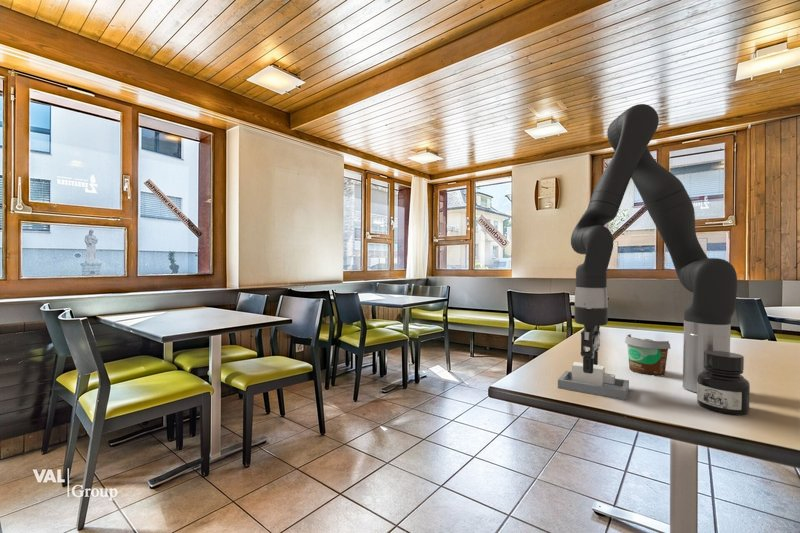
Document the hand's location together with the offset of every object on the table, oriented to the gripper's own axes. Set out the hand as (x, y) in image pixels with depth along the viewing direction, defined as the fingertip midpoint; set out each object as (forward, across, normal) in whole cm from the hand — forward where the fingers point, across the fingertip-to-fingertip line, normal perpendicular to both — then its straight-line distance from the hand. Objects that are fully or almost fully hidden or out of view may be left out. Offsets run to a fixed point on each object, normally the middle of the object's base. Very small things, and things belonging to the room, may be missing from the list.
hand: (590, 368), depth 99 cm
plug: (+4, 0, +1) cm, 4 cm away
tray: (+5, 0, +1) cm, 5 cm away
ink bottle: (+5, -2, +26) cm, 27 cm away
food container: (+5, -25, +10) cm, 28 cm away
